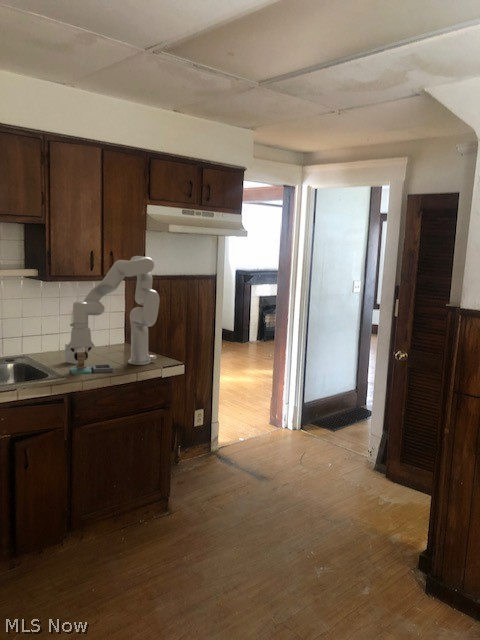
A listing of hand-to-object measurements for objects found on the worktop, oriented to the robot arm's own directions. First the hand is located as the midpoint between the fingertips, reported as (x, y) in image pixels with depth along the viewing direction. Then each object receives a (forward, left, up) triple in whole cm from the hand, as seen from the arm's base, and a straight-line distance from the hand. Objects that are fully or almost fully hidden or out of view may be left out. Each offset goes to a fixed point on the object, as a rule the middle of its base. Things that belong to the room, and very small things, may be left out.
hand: (81, 359), depth 277 cm
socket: (-11, 0, -6) cm, 13 cm away
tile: (0, 0, -6) cm, 6 cm away
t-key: (0, 0, -4) cm, 4 cm away
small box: (+2, -20, -6) cm, 22 cm away
